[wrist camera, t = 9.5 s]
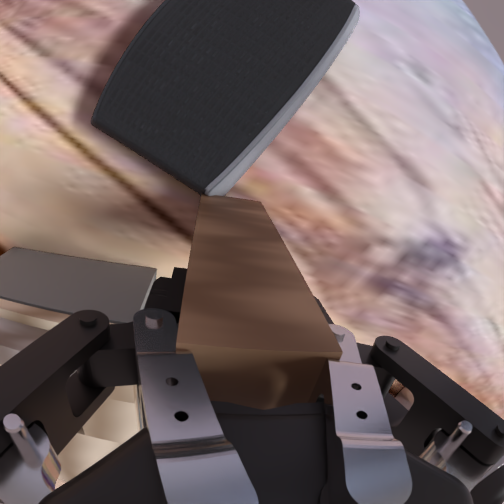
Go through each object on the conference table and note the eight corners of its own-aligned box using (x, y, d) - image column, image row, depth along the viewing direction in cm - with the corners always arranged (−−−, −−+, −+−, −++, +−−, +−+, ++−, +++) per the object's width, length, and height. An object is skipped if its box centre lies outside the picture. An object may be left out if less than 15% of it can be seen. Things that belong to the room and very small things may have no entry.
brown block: (260, 201, 21) (343, 351, 7) (250, 255, 22) (299, 440, 9) (201, 193, 20) (176, 342, 7) (194, 248, 22) (173, 437, 8)
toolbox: (156, 268, 24) (134, 323, 16) (156, 436, 31) (150, 491, 23) (13, 247, 21) (-39, 284, 14) (51, 413, 28) (31, 460, 21)
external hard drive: (362, 29, 19) (385, 15, 16) (222, 208, 24) (223, 222, 20) (236, -53, 16) (240, -79, 12) (86, 120, 20) (63, 117, 16)
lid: (133, 326, 16) (119, 365, 13) (150, 493, 23) (148, 519, 20) (-41, 286, 14) (-69, 308, 11) (31, 462, 21) (23, 484, 17)
